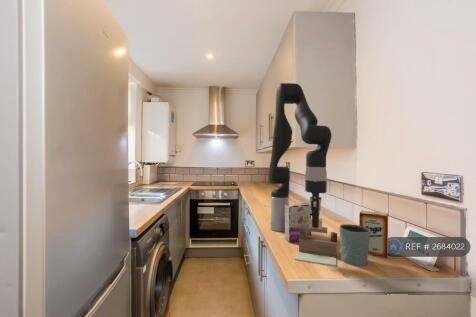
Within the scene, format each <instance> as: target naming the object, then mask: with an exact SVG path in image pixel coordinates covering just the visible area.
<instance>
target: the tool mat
mask: <svg viewBox="0 0 476 317" xmlns="http://www.w3.org/2000/svg"><path fill="white" fill-rule="evenodd" d="M294 261H300V262H306V263H312V264H318V265H326V266H333V267H337V257H334V256H327V255H320V254H313V253H306V252H299V251H296V254H295V257H294Z"/></svg>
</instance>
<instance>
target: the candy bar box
mask: <svg viewBox="0 0 476 317" xmlns="http://www.w3.org/2000/svg"><path fill="white" fill-rule="evenodd" d="M310 204H311V203H306V202H303V203H300V202H299V203H289V204H285V231H284V240H285V239H286V240H285V241H287V242H288V241H289V242H288V243H290V242H291V243H299V237H300V227H301V225H302V226H305V225H308V226H309V219H310V218H312V216H311V209H310ZM305 235H308V236H312V232H309V231H305Z"/></svg>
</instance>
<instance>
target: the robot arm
mask: <svg viewBox="0 0 476 317" xmlns="http://www.w3.org/2000/svg"><path fill="white" fill-rule="evenodd" d="M285 104H286V105H287V104H288V105H289V104H291V105H294V104H295V105H296V107H295V110H294V118H295V120H296V122H297V124H298V126H299V129H300V135H301V136H300V137H301V140H302V141H303V142H304V143H305V144H307V145H317V146H316V148H315V149H314V150H310V151H308V152H307V153H306V156H305V158H306V159H305V165H306V166H305V177H304V178H305V180H304V181H305V182H304V185H305V186H304V188H305V192H306V193H311V196H309V202H310V203H309V204H310V209H311V218H312V227H313V228H318V227H319V219H320V214H321V213H320V211H321V208H322V207H321V206H322V205H321V204H322V197H321V196H320V194H325V193H327V192H328V191H327V190H328V187H327V185H328V179H327V178H328V176H327V174H328V172H327V154H328V152H329V147H330V144H331V141H332V131H331V128H330V127H329V126H326V125H318V123H319V122H318V121H319V120H318V118H317V117H316V115H315V113H314V112H313V111H312V109H311V108H310V106H309V103H308V101H307V98H306V96H305V93H304V90H303V87H302V86H301V85H300V84H299V83H291V82H290V83H288V82H281V83H279V84H278V85H277V87H276V93H275V115H274V116H275V118H274V126H273V132H272V133H273V134H272V143H271V144H272V146H271V157H270V162H269V167H268V182H269V184H273V185H274V184H275V185H276V184H277V185H278V184H279V185H281V186H280V187H279V188H275V189H274V190H271V192H270V193H271V194H270V196H271V197H270V230H272V231H274V232H285V204H290V201H289V200H290V199H289V196H290V182H291V181H290V179H291V171H290V170H291V169H290V168H289V167H288V166H278V164H279V161H280V159H281V158H282V157H283V155H284V154H285V153H286V152H287V151H288V150H289V148H290V147H291V145H292V138H293V129H292V126H291V124H290V122H289V120H288V119H287V116H286V113H285Z"/></svg>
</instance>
